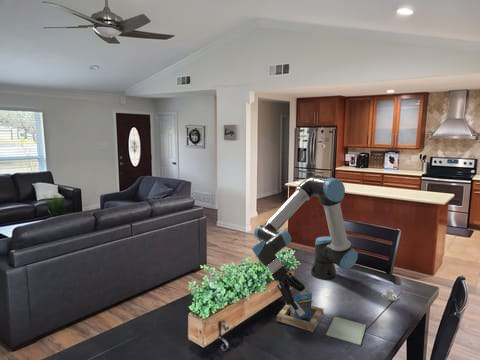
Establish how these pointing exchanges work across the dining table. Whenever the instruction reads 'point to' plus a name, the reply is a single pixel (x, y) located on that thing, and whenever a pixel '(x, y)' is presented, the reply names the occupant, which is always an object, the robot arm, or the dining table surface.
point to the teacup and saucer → (389, 295)
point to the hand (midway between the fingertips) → (306, 308)
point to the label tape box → (302, 306)
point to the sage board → (346, 330)
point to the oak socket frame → (297, 322)
